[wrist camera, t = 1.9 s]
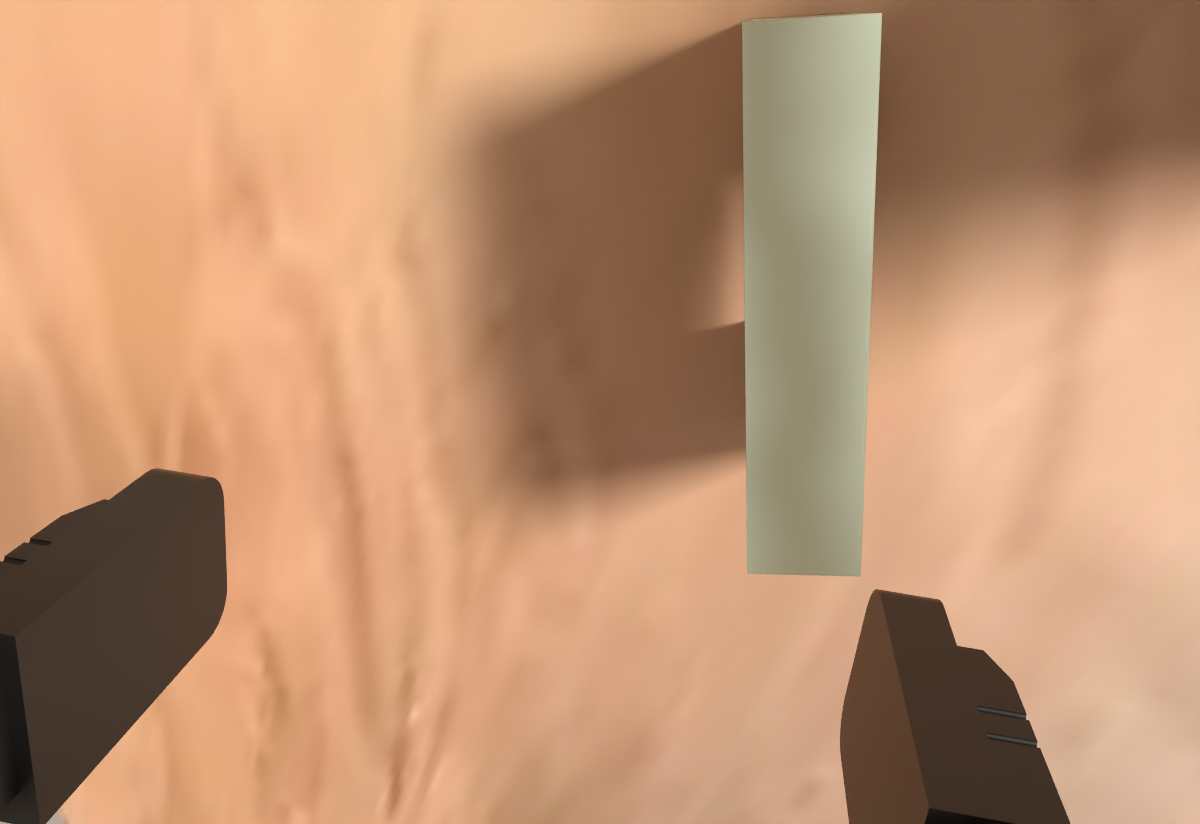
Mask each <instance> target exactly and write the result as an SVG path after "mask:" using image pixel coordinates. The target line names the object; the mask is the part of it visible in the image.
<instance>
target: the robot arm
mask: <svg viewBox="0 0 1200 824" xmlns="http://www.w3.org/2000/svg"><path fill="white" fill-rule="evenodd" d="M226 595H227V570H226V543H225V516H224V496H223V490H222V487H221V485H220V483H219V481H218V480H216V479H215V478H212V477H206V476H200V475H194V474H188V473H182V472H176V471H170V470H164V469H152V470H150V471H148V472H146V473H145V474H144V475H142V476H141V477H140V478H138V479H137V480H136V481H134V482H133V483H131V484H130V485H129V486H127V487H126V488H125V489H123V490H122V491H121V492H119V493H118V494H117V495H115V496H114V497H113V498H111V499H110V500H105V499H104V500H101V501H99V502H96V503H94V504H91V505H88V506H86V507H83V508H81V509H78V510H75V511H73V512H70V513H68V514H65V515H62V516H61V517H59V518H58V519H56V520H55V521H54V522H52V523H51V524H49V525H48V526H47V527H45V528H44V529H42V530H41V531H40V532H38V533H37V534H35V535H34V536H32V537H31V538H30V542H29V543H25V542H24V543H23V544H21V545H20V546H18V547H17V548H16V549H14V550H13V551H11V552H10V553H9V554H7V555H6V556H5V558H4V561H3V562H1V561H0V821H1V822H6V823H11V824H46V823H47V822H48V821H49V819H50V818H51V817H52V816H53V815H54V814H55V813H56V811H57V810H58V809H59V808H60V807H61V806H62V805H63V804H64V802H65V801H66V800H67V799H68V798H69V797H70V796H71V795H72V793H73V792H74V791H75V790H76V789H77V788H78V787H79V785H80V784H81V783H82V782H83V781H84V780H85V779H86V778H87V776H88V775H89V774H90V773H91V772H92V771H93V770H94V768H95V767H96V766H97V765H98V764H99V763H100V762H101V761H102V759H103V758H104V757H105V756H106V755H107V754H108V753H109V751H110V750H111V749H112V748H113V747H114V746H115V745H116V744H117V742H118V741H119V740H120V739H121V738H122V737H123V736H124V735H125V733H126V732H127V731H128V730H129V729H130V728H131V727H132V725H133V724H134V723H135V722H136V721H137V720H138V719H139V718H140V716H141V715H142V714H143V713H144V712H145V711H146V710H147V708H148V707H149V706H150V705H151V704H152V703H153V702H154V701H155V699H156V698H157V697H158V696H159V695H160V694H161V693H162V692H163V690H164V689H165V688H166V687H167V686H168V685H169V684H170V682H171V681H172V680H173V679H174V678H175V677H176V676H177V675H178V673H179V672H180V671H181V670H182V669H183V668H184V667H185V665H186V664H187V663H188V662H189V661H190V660H191V659H192V658H193V656H194V655H195V654H196V653H197V652H198V651H199V650H200V649H201V647H202V646H203V645H204V644H205V643H206V642H207V641H208V639H209V638H210V637H211V636H212V634H213V633H214V631H215V629H216V628H217V626H218V624H219V621H220V619H221V616H222V613H223V610H224V606H225V601H226ZM840 751H841V761H842V769H843V777H844V785H845V793H846V801H847V809H848V817H849V824H1070V821H1069V819H1068V816H1067V814H1066V811H1065V809H1064V806H1063V804H1062V801H1061V799H1060V796H1059V794H1058V791H1057V789H1056V787H1055V784H1054V782H1053V779H1052V777H1051V774H1050V772H1049V769H1048V767H1047V764H1046V762H1045V759H1044V757H1043V754H1042V752H1041V749H1040V748H1037V739H1036V737H1035V734H1034V732H1033V729H1032V727H1031V724H1030V722H1029V720H1026V712H1025V709H1024V707H1023V704H1022V702H1021V699H1020V697H1019V694H1018V692H1017V689H1016V687H1015V684H1014V682H1013V681H1012V680H1011V679H1010V678H1009V676H1008V675H1007V674H1006V673H1005V672H1004V671H1003V670H1002V669H1001V668H1000V667H999V666H998V665H997V664H996V663H995V662H994V661H993V660H992V659H991V658H990V657H989V656H988V655H987V654H986V653H985V652H984V651H983V650H978V649H972V648H966V647H960V646H957V645H956V642H955V639H954V636H953V633H952V630H951V627H950V624H949V621H948V618H947V615H946V612H945V609H944V606H943V603H942V602H941V601H940V600H938V599H932V598H926V597H920V596H914V595H908V594H902V593H896V592H890V591H884V590H878V589H876V590H874V591H873V593H872V595H871V597H870V599H869V602H868V606H867V609H866V613H865V617H864V621H863V626H862V630H861V634H860V638H859V642H858V646H857V650H856V654H855V658H854V662H853V666H852V670H851V675H850V679H849V683H848V687H847V691H846V695H845V700H844V705H843V711H842V719H841V731H840Z"/></svg>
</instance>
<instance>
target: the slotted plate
mask: <svg viewBox="0 0 1200 824" xmlns="http://www.w3.org/2000/svg"><path fill="white" fill-rule="evenodd" d="M881 28H882V13H841V14H825V15H810V16H795V17H780V18H764V19H749V20H746V21H743V22H742V76H743V183H744V290H745V396H746V503H747V574H780V575H821V576H861V555H862V529H863V502H864V476H865V450H866V423H867V397H868V371H869V344H870V318H871V291H872V265H873V239H874V212H875V186H876V160H877V133H878V107H879V80H880V54H881Z"/></svg>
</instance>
